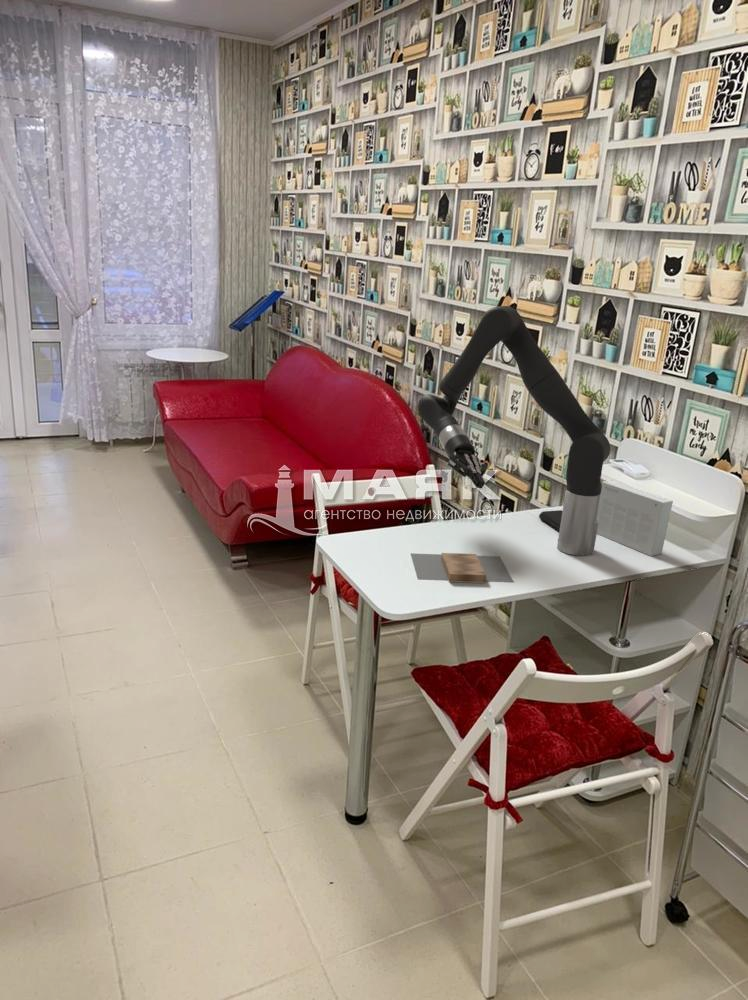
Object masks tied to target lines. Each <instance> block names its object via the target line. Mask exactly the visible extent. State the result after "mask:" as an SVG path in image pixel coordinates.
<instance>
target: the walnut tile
mask: <svg viewBox="0 0 748 1000" xmlns="http://www.w3.org/2000/svg"><path fill="white" fill-rule="evenodd" d="M441 554H442V555H441V561H442V564H443V566H444V569H445V572H446V574H447V577H448V580H447V581H449V582H450V583H475V584H477V583H479V584H480V583H486V582H485V581H486V574H485V572H484V570H483V568H482V565H481V563H480V561H479V559H478V557H477V556H478V555H477V553H457V552H456V553H455V552H441Z"/></svg>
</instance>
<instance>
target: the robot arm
mask: <svg viewBox="0 0 748 1000" xmlns="http://www.w3.org/2000/svg"><path fill="white" fill-rule="evenodd" d="M500 342H501V343H503V345H504V346H505V347H506V349H507V350H508V351H509V352H510V354H511V355H512V357H513V358H514V360H515V362H516V365H517V368H518V371H519V375H520V377H521V381H522V382H523V384H524V386H525V389H526V390H527V392H529V394H530V395H531V397H532V399H533V400H534V401H535V403H536V404H537V405H538V406H539V407H540V408H541V410H543V411H544V412H545V413H546V414H547V415H548V416H550V417H551V418H552V419H553V420H554V421H556V422H557V423H558V424H559V425H560V426H561V428H562V429H564V431H565V432H566V434H567V435H568V437H569V438H570V440H571V442H572V443H571V445H570V447H569V449H568V450H569V451H568V456H567V465H566V473H565V481H566V487H565V494H564V499H563V506H562V510H561V511H562V518H561V524H560V531H559V532H558V538H557V547H556V548H557V549H558V550H559V551H561V552H562V553H564V554H569V555H571V556H587V555H593V554H594V552H595V545H596V541H597V535H598V534H597V529H598V523H599V522H598V521H597V520H596V518H597V512H598V506H599V500H600V494H601V489H602V484H601V483H602V480H601V478H602V472H603V466H604V462H606V460H607V459H608V458H609V456H610V454H611V445H610V444H611V443H610V441H609V439H608V437H607V436H606V435H605V434H604V432H602V430H601V429H600V428H599V427H598V426H597V425H596V423H594V421H593V420H592V419H591V418H590V417H589V415H588V414H587V413H586V412H585V410H584V409H583V408H582V406H581V404H580V402H579V401H578V399H577V398H576V396H575V395H574V393H573V392H572V391H571V389H570V388H569V387H568V385H567V382H566V381H565V380H564V378H563V377H562V376H561V374H560V373H559V372H558V370H557V369H556V368H555V366H554V365H553V364H552V363H551V361H550V359H549V357H547V356H546V354H545V353H544V352H543V350H542V349H541V348H540V346H539V345H538V343H537V342H536V341H535V339H534V337H533V336H532V334H531V332H530V330H529V329H528V327H527V325H526V323H525V321H524V319H523V317H522V316H521V315H520V313H519V312H518V311H517V310H516V309H515V308H514V307H512V306H510V305H501V306H500V305H499V306H493V307H491V308H489V309H488V310H486V312H485V313H484V314H483V315H482V317H481V319H480V321H479V323H478V324H477V327H476V328H475V330H474V332H473V334H472V336H471V338H470V339H469V341H468V343H467V345H466V346H465V348H464V349H463V351H462V353H461V354H460V355H459V356H458V358H457V359H456V360H455V362H454V363H453V365H452V366H451V367H450V369H449V370H448V371H447V373H446V374H445V375H444V376H443V378H442V379H441V380H440V383H439V385H438V387H439V390H440V393H442V394H443V395H444V396H443V397H440V396H438V395H434V394H430V393H427V394H425V395H422V397H420V398H419V400H418V402H417V411H418V414H419V416H420V417H421V420H423V421H424V422H425V423H426V425H427V426H429V427H430V428H431V429H432V430H433V431H434V433H435V434H436V437H437V438H438V440H439V442H440V445H441V447H442V448H443V450H444V453H445V454H446V456H447V458H448V459H449V461H448V463H447V466H449V467H450V468H452V469H453V470H454V471H455V472H457V473H458V474H460V475H461V476H462V477H463V478H466V477H467V478H468V479H470V480H471V482H472V483H473V485H474V486H475V488H477V489H483V488H484V486H485V485H486V481H485V479H484V478H483V477H484V475H485V474H486V472H487V470H488V467H489V463H488V462H487V461H484V462H482V461H480V459H479V457H477V455H476V448H475V446H474V445H473V443H472V441H471V440H470V438H469V436H468V435H467V433H466V431H465V430H464V429H463V428H462V427H461V425H460V424H459V422H458V420H457V419H456V418H455V416H454V412H455V410H456V407H457V405H458V402H459V401H460V398H461V395H462V394H463V393H464V391H466V390H467V388H468V387H469V386H470V384H471V382H472V381H473V380H474V378H475V376H476V375H477V373H478V371H479V369H480V366H481V364H482V363H483V361H484V360H485V358H486V357H487V355H488V354H489V353H490V352H491V351H492V350H493V349H494V347H496V346H497V345H499V343H500Z"/></svg>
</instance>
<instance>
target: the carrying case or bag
mask: <svg viewBox="0 0 748 1000" xmlns="http://www.w3.org/2000/svg"><path fill="white" fill-rule="evenodd" d="M562 511H563V510H562V509H561V510H547V511H545V510H544V511H541V513H539V515H538V518H539V519H540V520H541V522H543V523H545V524H546V525H547V526H549V527H551V528H552V529H554V530H555V531H557V532H558V533H559V531H560V524H561V518H562Z"/></svg>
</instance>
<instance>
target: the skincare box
mask: <svg viewBox="0 0 748 1000" xmlns="http://www.w3.org/2000/svg"><path fill="white" fill-rule="evenodd" d="M601 484H602V489H601V494H600V500H599V506H598V512H597V518H596V520H597V521H598V522H599V523H598V529H597V535H599V536H602V537H604V538H607V539H609V540H611V541H613V542H616V543H618V544H620V545H624V546H625V547H627V548H631V549H633V550H636V551H638V552H641V553H643V554H645V555H648V556H649V557H653V556H658V555H660V554H663V549H664V545H665V540H666V539H665V538H666V534H667V530H668V526H669V521H670V516H671V511H672V507H673V503H674V501H673V500H671V499H668V498H666V497H662V496H660V495H656V494H653V493H651V492H648V491H645V490H642V489H639V488H635V487H633V486H630V485H627V484H624V483H621V482H618V481H614V480H607V481H605V480H604V481H601Z"/></svg>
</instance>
